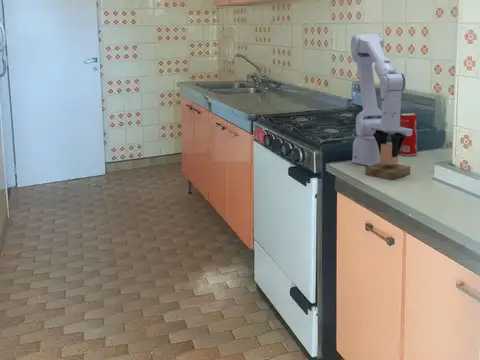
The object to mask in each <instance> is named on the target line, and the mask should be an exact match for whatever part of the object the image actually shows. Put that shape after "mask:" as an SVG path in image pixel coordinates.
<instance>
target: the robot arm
mask: <svg viewBox="0 0 480 360" xmlns="http://www.w3.org/2000/svg"><path fill="white" fill-rule="evenodd" d="M384 44H385V40H384V36H383V35H382V34H381V33H380V32H379V33H371V34H370V33H363V34H357V33H354V34H353V36H352V37H351V40H350V53H351V58H352V62H354V63H355V64H356V66H357V73H358V81H359V89H360V97H361V104H362V105H361V106H362V111H359V113H357V115H356V118H355V133H356V135H357V136H356V137H355V138H354V140H353V143H352V158H351V159H352V160H351V161H350V162H351V163H352V164H359V165H362V166H366V167H367V166H370V165H374V164H377V163H380V155H381V144H383V143H387V142H388V136H389V134H391V135H390V140H391V143H392V157H397V156H398V153H400V147H401V145H402V143H403V141H404V139H405V138H406V136H411V135H412V129H408V128H404V127H400V117H401V107H402V106H401V105H402V92H404V91H405V88H406V77H405V74H404V73H403V72H400V71H398V70H397V69H396V67H395V65H394V63H393V61H392V60H391V59H390V58H388V57H386V54H385V52H384V49H383V48H384V46H385V45H384ZM373 63H374V68H373ZM373 69H374V71H375V74H376V76H377V77H378V79H379V83H378V85H379V86H378V87H379V89H380V90H379V91H380V92H379V93H380V98H381V108H379V106H378V100H377V94H376V86H375V79H374V71H373ZM398 157H399V156H398Z"/></svg>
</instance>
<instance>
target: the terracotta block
mask: <svg viewBox="0 0 480 360" xmlns="http://www.w3.org/2000/svg"><path fill="white" fill-rule="evenodd" d="M399 153H400V152H399ZM399 153H398V156H397V157H392V142H389V141H387V142H386V143H383V144H381V155H380V163H386V164H398V163H399Z"/></svg>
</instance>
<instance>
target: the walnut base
mask: <svg viewBox="0 0 480 360" xmlns="http://www.w3.org/2000/svg"><path fill="white" fill-rule="evenodd" d="M364 173H365V174H366V176H370V175H372V176H371V177H375V176H377V177H376V178H379V177H381V178H380V179H384V178H385V180H390V181H394V179H395V180H397V178H398V179H400V178H402V177H406V176H408V175H411V166H410V165H406V164H398V163H394V164H386V163H377V164H374V165H370V166H367V165H366V166H365V172H364Z"/></svg>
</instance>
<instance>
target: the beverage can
mask: <svg viewBox="0 0 480 360" xmlns="http://www.w3.org/2000/svg"><path fill="white" fill-rule="evenodd" d="M417 122H418V121H417V114H416V113H415V112H414V113H413V112H405V113H400V127H404V128H408V129H412V135H411V136H406V138H405V139H404V141H403V143H402V145H401V147H400V150H399V153H400V155H401V156H404V155H405V156H406V157H408V156H409V157H410V156H411V157H412V156H416V155H417V153H418V151H417V149H418V146H417V145H418V144H417V142H418V141H417V140H418V138H417V137H418V133H417V131H418V130H417V126H418V124H417Z"/></svg>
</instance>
